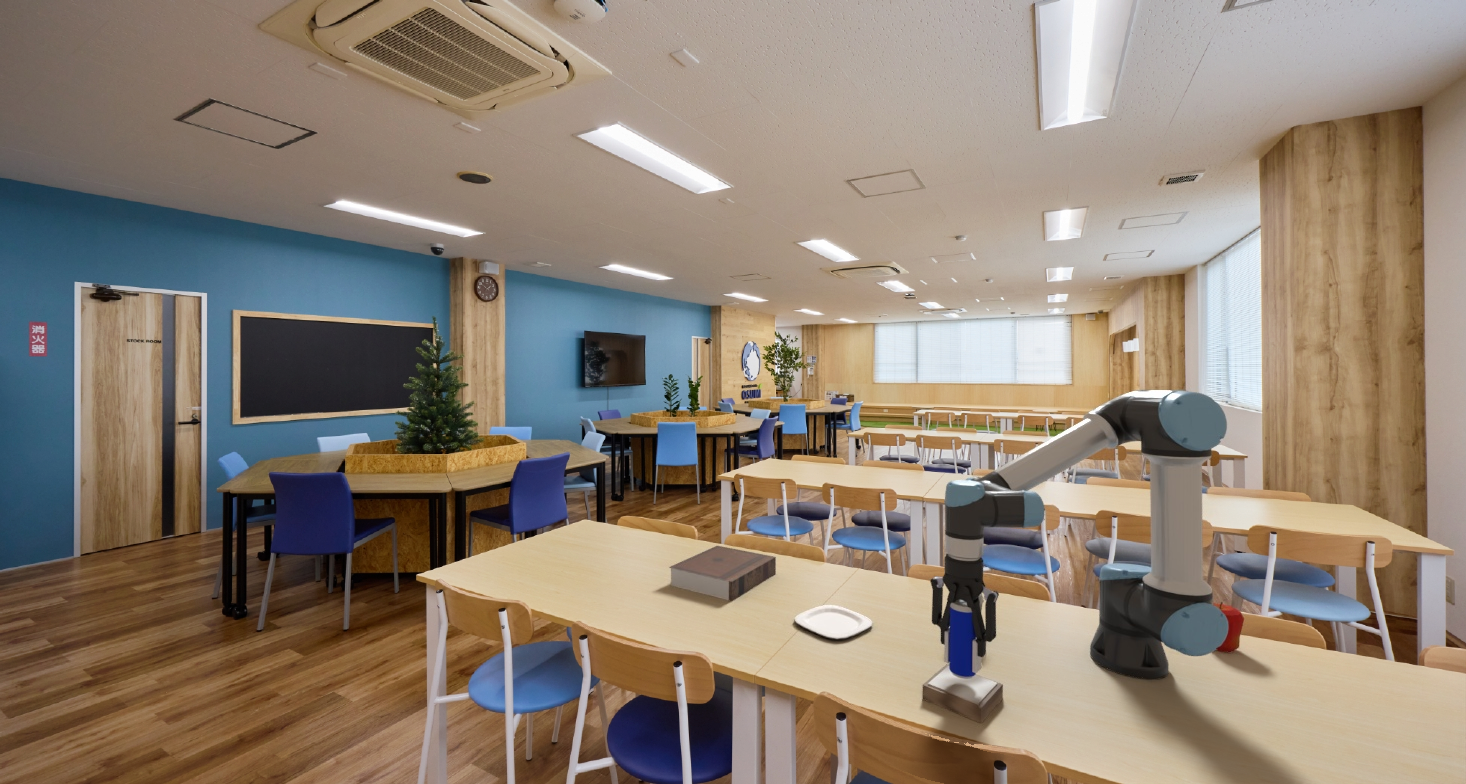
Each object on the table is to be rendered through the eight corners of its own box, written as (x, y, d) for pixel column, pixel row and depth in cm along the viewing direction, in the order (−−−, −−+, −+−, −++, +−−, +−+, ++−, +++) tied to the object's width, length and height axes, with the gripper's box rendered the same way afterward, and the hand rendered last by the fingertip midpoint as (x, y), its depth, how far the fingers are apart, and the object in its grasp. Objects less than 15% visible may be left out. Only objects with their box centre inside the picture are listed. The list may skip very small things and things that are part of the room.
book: (775, 575, 194) (775, 556, 194) (731, 603, 170) (731, 581, 170) (717, 563, 207) (717, 545, 207) (668, 587, 183) (668, 567, 183)
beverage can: (968, 666, 121) (969, 597, 120) (980, 679, 116) (981, 607, 115) (945, 667, 120) (945, 598, 120) (955, 680, 115) (956, 607, 115)
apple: (1232, 643, 143) (1233, 597, 142) (1250, 658, 135) (1251, 609, 134) (1191, 637, 145) (1192, 592, 145) (1207, 652, 138) (1207, 605, 137)
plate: (837, 648, 141) (837, 641, 141) (786, 624, 155) (786, 618, 155) (880, 627, 153) (880, 621, 153) (829, 606, 167) (829, 601, 167)
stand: (1002, 698, 118) (1002, 682, 118) (980, 723, 110) (980, 706, 110) (946, 677, 127) (946, 662, 127) (922, 698, 118) (922, 683, 118)
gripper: (1016, 561, 114) (1014, 674, 114) (930, 542, 126) (929, 644, 127) (1003, 570, 108) (1001, 688, 109) (914, 549, 121) (913, 656, 122)
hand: (962, 664), depth 118 cm, fingers closed on beverage can, 5 cm apart
